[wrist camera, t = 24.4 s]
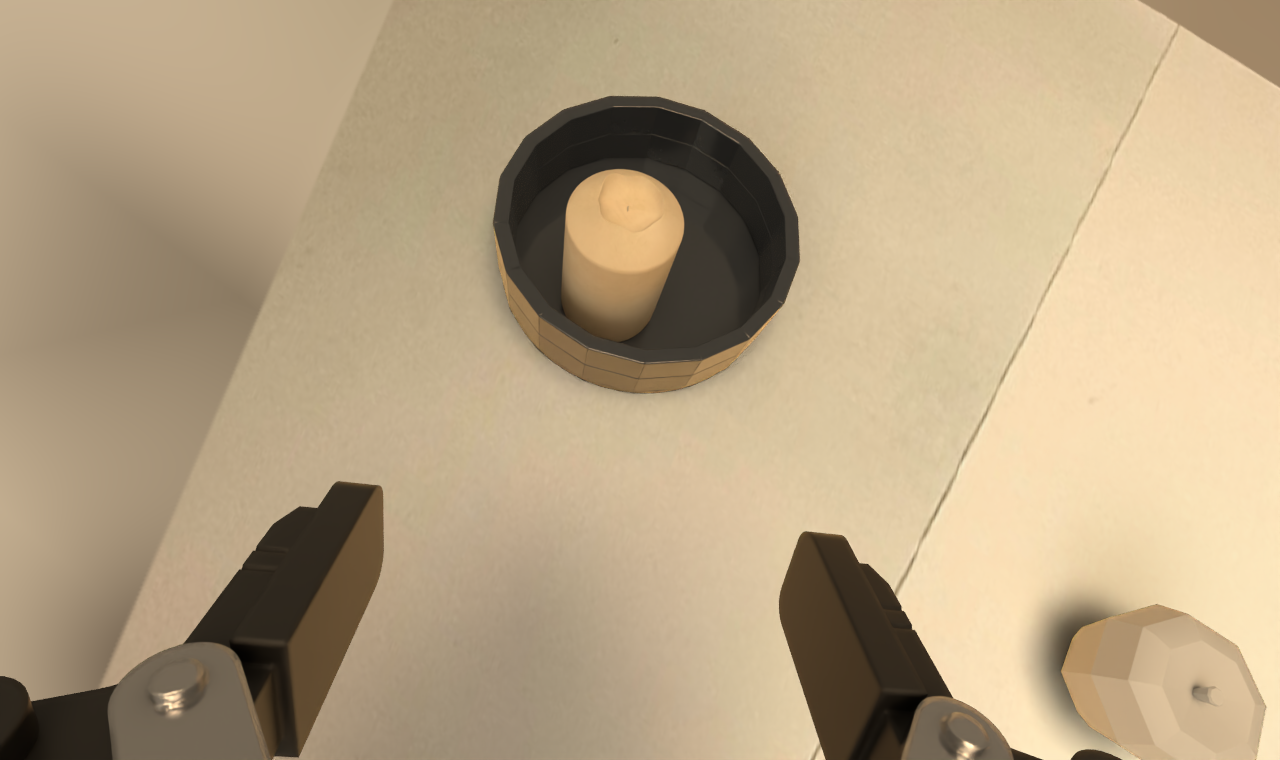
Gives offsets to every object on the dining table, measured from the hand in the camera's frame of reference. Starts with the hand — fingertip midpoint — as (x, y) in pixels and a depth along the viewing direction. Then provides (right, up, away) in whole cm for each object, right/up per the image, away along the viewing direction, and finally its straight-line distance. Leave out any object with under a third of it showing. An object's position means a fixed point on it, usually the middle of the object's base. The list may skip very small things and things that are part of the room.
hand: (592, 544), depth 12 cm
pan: (+1, +10, +26) cm, 28 cm away
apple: (+26, -13, +22) cm, 37 cm away
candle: (-1, +8, +25) cm, 26 cm away
